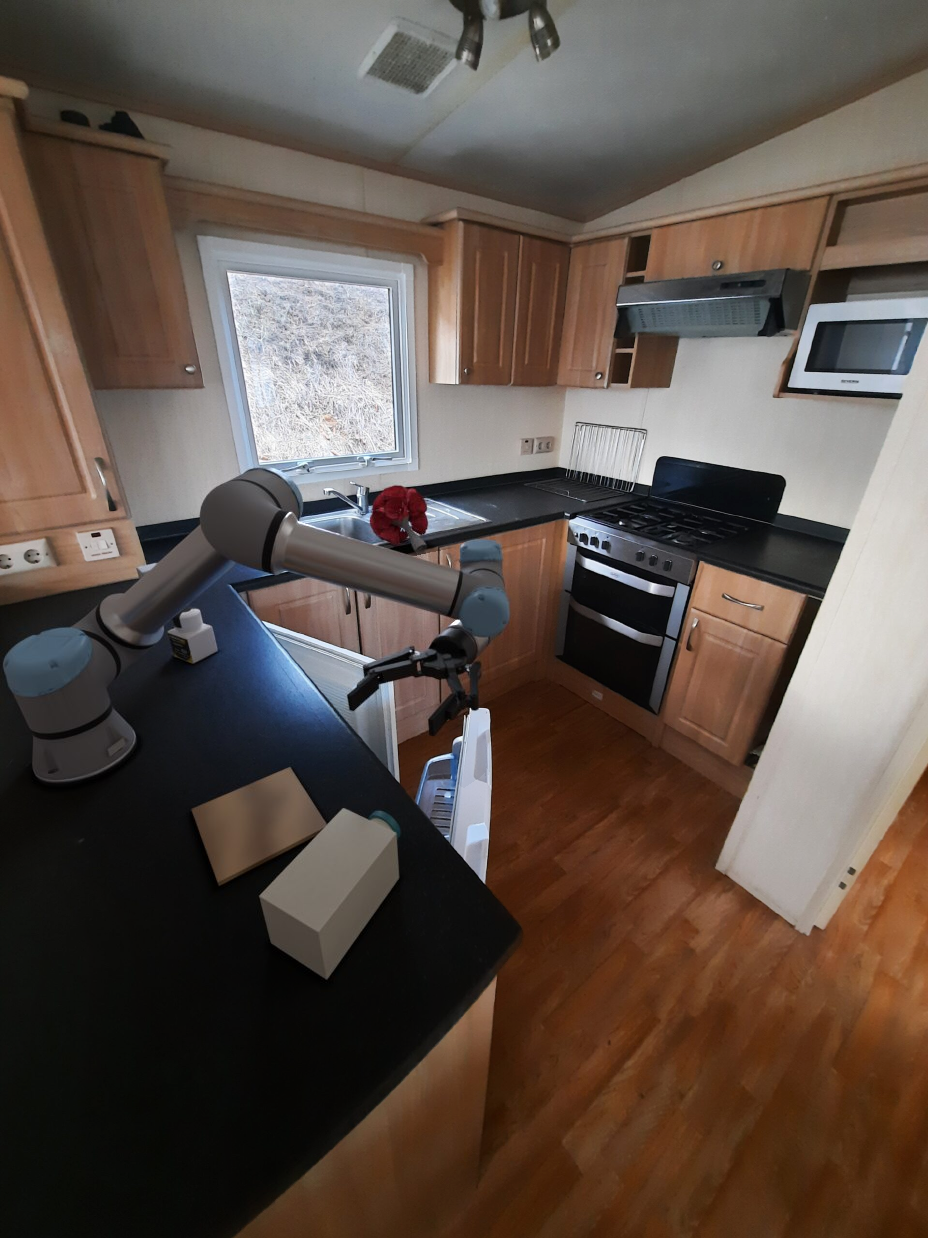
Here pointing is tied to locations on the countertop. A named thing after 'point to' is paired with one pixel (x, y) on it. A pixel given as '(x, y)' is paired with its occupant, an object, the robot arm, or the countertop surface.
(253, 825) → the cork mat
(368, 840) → the drink carton
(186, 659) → the medicine bottle
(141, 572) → the product box
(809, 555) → the countertop surface
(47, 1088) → the countertop surface
